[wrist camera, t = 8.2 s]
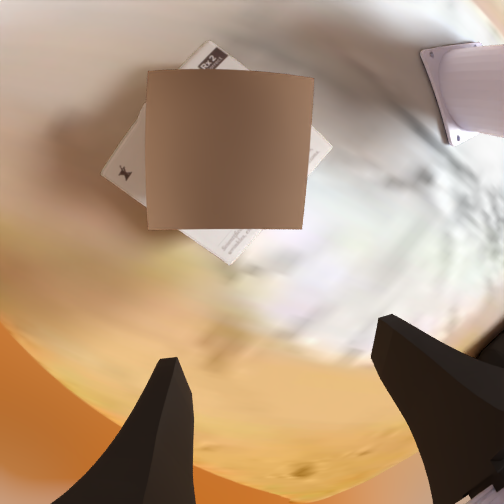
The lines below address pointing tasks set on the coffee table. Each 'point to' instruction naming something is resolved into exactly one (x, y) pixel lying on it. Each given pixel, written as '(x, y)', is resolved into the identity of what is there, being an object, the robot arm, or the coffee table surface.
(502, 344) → the portable speaker
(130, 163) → the small box
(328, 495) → the coffee table surface
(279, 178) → the walnut block
